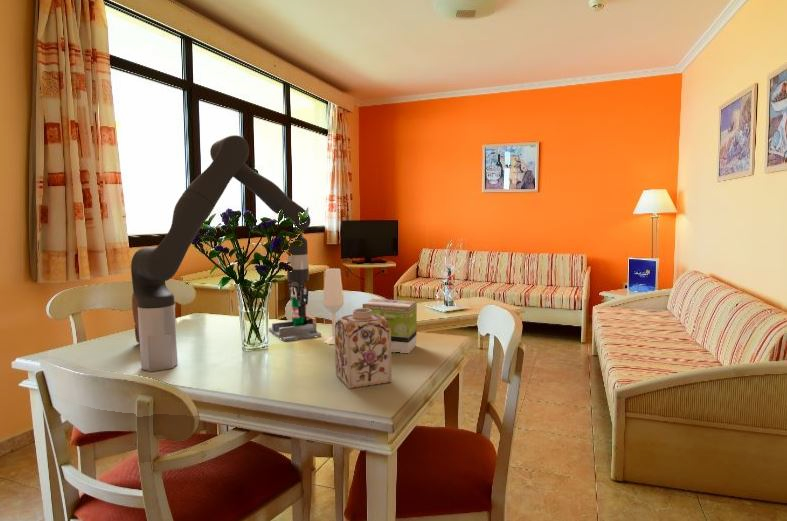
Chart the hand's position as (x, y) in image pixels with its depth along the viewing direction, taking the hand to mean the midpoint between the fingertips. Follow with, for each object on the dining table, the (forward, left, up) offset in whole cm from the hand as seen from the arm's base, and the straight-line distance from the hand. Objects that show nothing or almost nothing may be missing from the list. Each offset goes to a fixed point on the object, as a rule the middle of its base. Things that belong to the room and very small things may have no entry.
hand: (299, 314), depth 176 cm
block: (+11, +46, -7) cm, 48 cm away
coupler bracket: (0, +2, -6) cm, 7 cm away
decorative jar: (-55, +2, -7) cm, 56 cm away
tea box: (-34, -18, -7) cm, 39 cm away
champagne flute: (-18, -6, -7) cm, 20 cm away
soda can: (0, 0, -5) cm, 5 cm away
